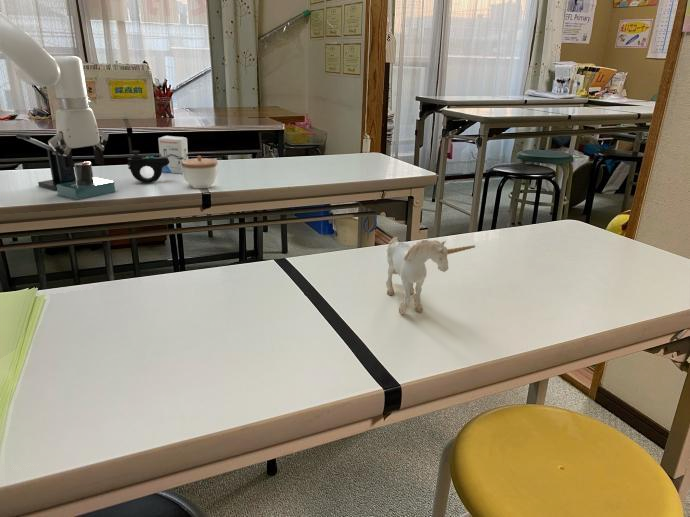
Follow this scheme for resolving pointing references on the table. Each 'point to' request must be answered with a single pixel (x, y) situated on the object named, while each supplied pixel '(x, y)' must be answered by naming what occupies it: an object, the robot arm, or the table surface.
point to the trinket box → (200, 171)
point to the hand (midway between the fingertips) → (84, 167)
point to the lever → (35, 142)
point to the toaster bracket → (58, 172)
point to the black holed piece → (139, 162)
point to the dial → (84, 173)
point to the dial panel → (85, 189)
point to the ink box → (173, 152)
